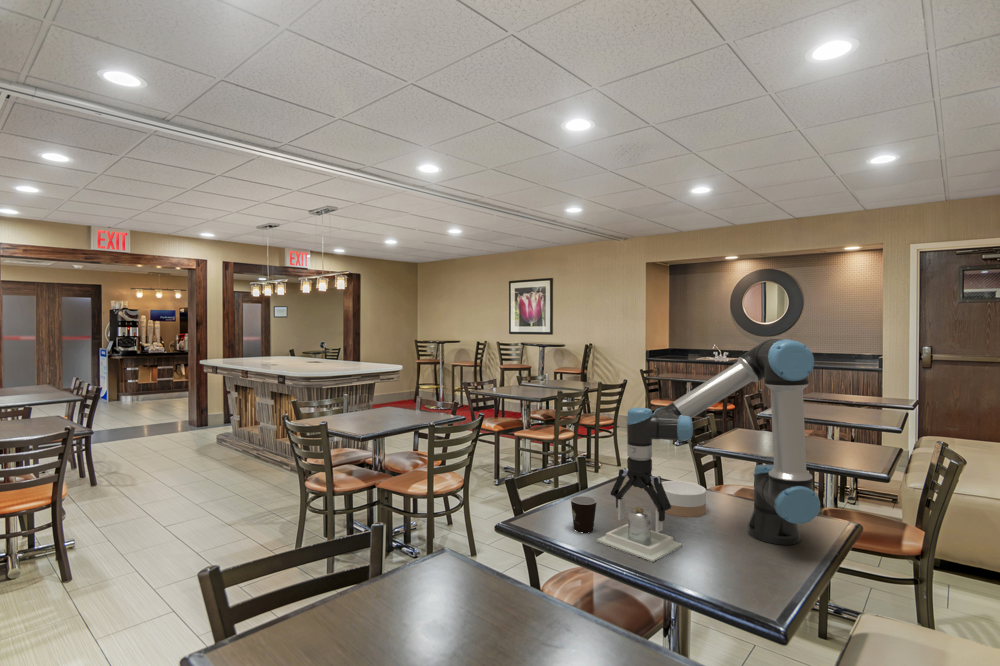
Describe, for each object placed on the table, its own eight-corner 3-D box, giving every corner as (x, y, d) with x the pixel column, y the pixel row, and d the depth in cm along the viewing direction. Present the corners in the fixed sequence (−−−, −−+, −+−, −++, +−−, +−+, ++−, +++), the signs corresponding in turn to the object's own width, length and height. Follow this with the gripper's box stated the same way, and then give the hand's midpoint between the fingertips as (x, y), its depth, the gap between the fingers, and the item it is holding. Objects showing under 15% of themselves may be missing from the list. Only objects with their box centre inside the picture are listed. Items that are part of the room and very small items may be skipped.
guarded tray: (682, 546, 161) (682, 537, 161) (652, 563, 150) (652, 553, 150) (627, 528, 176) (627, 519, 176) (596, 541, 165) (596, 533, 165)
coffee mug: (596, 535, 170) (596, 505, 169) (569, 533, 171) (569, 503, 171) (596, 522, 181) (597, 494, 181) (572, 520, 183) (572, 492, 183)
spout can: (655, 541, 163) (655, 506, 163) (642, 548, 158) (643, 511, 158) (635, 535, 168) (636, 500, 168) (623, 541, 163) (623, 505, 163)
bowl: (654, 500, 205) (654, 479, 204) (699, 502, 202) (699, 481, 202) (661, 516, 188) (661, 493, 187) (711, 519, 185) (711, 495, 185)
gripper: (599, 452, 169) (600, 517, 170) (669, 467, 151) (669, 539, 151) (613, 448, 175) (613, 511, 175) (682, 462, 156) (682, 533, 156)
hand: (639, 524), depth 163 cm, fingers open, 13 cm apart
